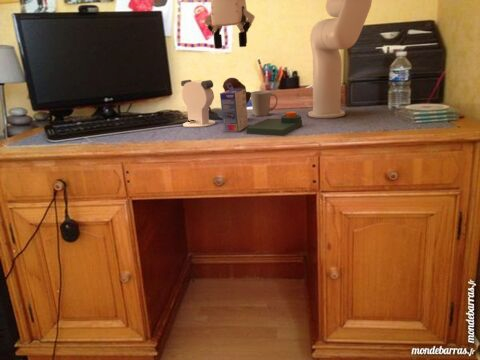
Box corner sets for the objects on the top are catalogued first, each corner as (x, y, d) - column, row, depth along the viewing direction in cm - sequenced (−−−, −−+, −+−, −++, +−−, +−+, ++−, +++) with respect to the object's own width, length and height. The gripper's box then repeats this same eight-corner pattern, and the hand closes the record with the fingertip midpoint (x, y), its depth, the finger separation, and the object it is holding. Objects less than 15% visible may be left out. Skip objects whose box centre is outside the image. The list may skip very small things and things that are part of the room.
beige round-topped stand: (223, 122, 137) (220, 78, 132) (202, 128, 129) (197, 82, 124) (197, 120, 144) (194, 78, 139) (176, 126, 136) (171, 82, 131)
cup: (251, 113, 150) (250, 91, 147) (277, 112, 150) (276, 89, 147) (251, 117, 143) (250, 93, 140) (278, 115, 142) (277, 92, 140)
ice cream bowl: (249, 122, 133) (247, 77, 128) (218, 123, 135) (214, 79, 130) (254, 117, 143) (252, 75, 138) (225, 117, 145) (222, 76, 140)
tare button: (288, 116, 123) (288, 111, 123) (297, 116, 122) (297, 111, 121) (284, 118, 121) (284, 113, 120) (293, 118, 119) (293, 113, 119)
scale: (268, 124, 129) (267, 113, 128) (303, 125, 123) (303, 114, 122) (246, 133, 117) (246, 122, 116) (285, 136, 111) (284, 124, 110)
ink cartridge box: (233, 125, 130) (229, 81, 126) (248, 125, 129) (246, 80, 124) (222, 132, 122) (218, 84, 117) (238, 132, 120) (235, 84, 115)
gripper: (259, -20, 110) (262, 45, 116) (208, -12, 118) (213, 48, 124) (246, -23, 104) (250, 46, 110) (194, -15, 112) (199, 49, 118)
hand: (230, 47), depth 117 cm, fingers open, 8 cm apart
